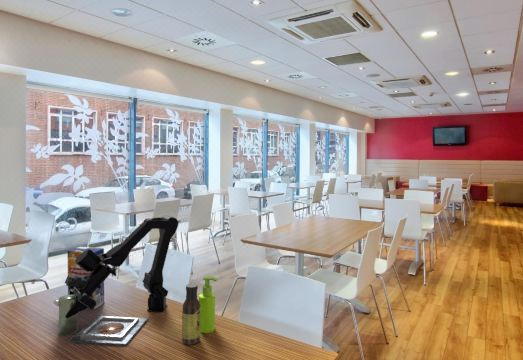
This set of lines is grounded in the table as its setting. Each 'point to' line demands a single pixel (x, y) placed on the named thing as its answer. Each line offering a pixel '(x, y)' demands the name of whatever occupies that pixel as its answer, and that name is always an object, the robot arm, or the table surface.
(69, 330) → the spout can
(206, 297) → the soap dispenser
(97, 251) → the juice carton
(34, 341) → the table surface
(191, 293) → the sauce bottle
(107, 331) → the port plate
